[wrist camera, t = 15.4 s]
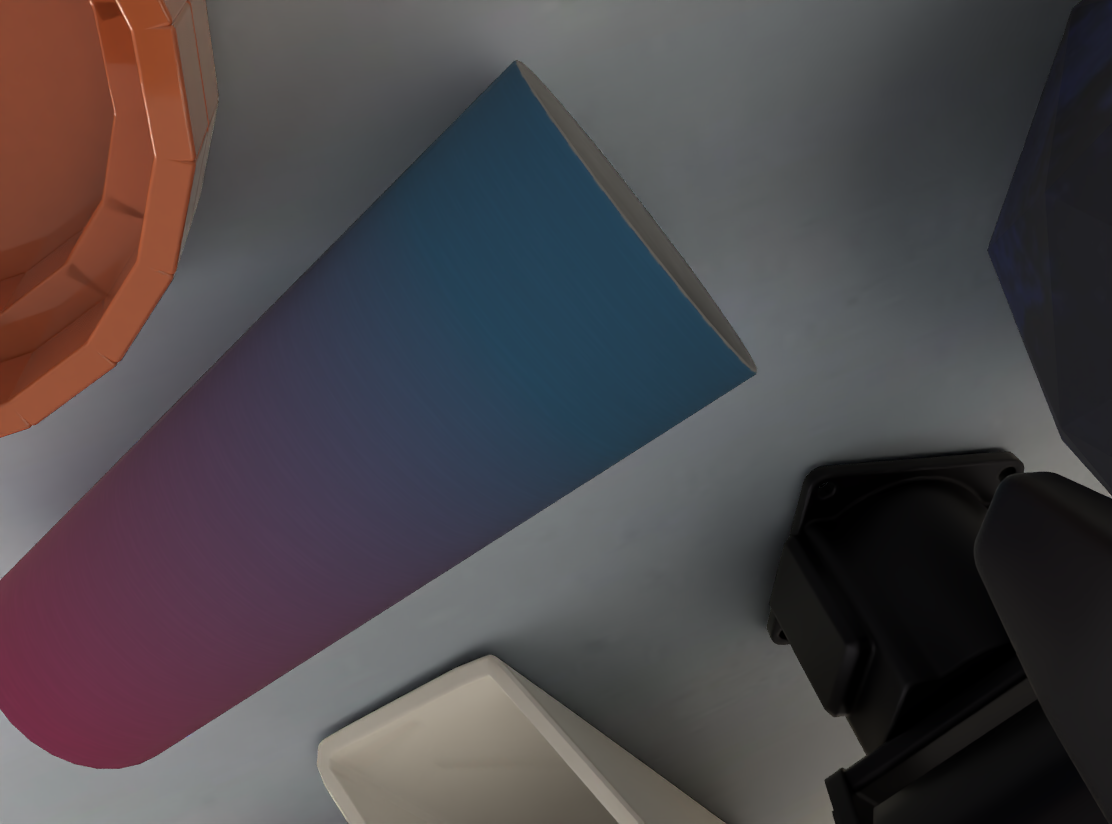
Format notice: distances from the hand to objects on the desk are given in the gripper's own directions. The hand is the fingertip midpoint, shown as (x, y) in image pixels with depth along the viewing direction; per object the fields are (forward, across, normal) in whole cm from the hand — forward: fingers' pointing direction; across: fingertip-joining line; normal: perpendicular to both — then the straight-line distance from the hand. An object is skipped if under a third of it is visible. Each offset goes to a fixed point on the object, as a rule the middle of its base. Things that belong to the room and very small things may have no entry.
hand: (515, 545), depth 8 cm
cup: (+10, +7, +11) cm, 16 cm away
